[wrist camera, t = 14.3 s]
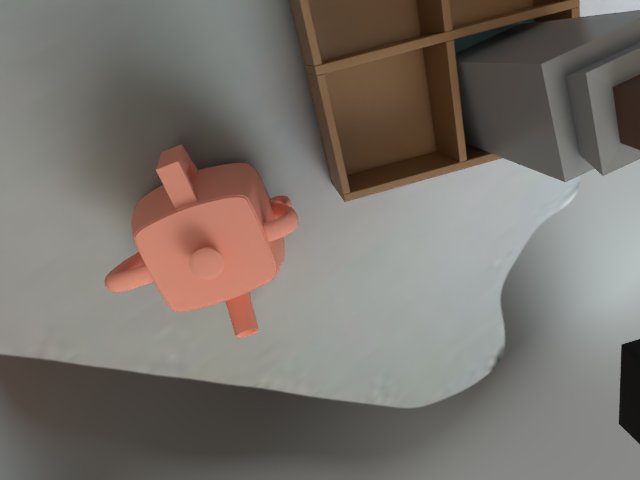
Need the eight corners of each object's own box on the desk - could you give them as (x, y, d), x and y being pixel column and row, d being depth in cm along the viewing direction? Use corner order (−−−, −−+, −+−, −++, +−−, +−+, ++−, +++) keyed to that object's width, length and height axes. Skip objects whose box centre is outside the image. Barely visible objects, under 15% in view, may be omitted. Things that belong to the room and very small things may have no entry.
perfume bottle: (437, 61, 36) (605, 65, 19) (517, 24, 36) (754, -4, 19) (461, 141, 38) (626, 205, 22) (535, 107, 38) (757, 145, 22)
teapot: (249, 300, 42) (252, 367, 33) (119, 245, 38) (82, 304, 29) (313, 191, 39) (334, 232, 30) (179, 120, 35) (158, 142, 26)
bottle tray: (272, -74, 32) (277, -97, 27) (530, -137, 33) (578, -169, 28) (332, 184, 39) (344, 202, 34) (541, 127, 40) (580, 136, 35)
